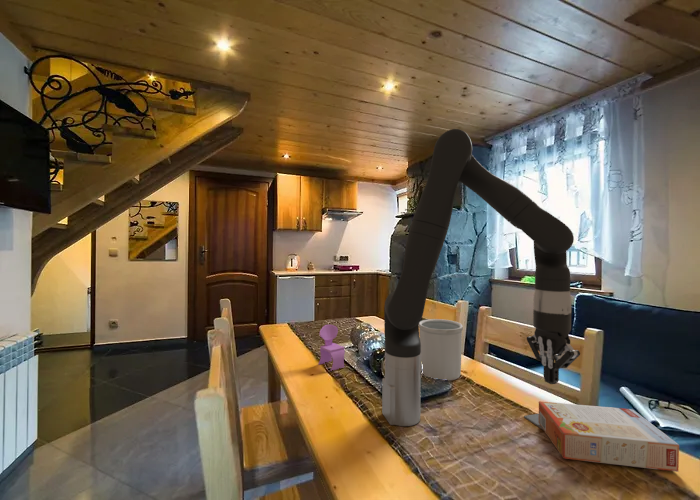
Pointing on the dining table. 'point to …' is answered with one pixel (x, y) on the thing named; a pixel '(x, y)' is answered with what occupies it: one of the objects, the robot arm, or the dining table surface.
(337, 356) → the toy chair
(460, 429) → the dining table surface
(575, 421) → the cracker box
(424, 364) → the utensil holder
